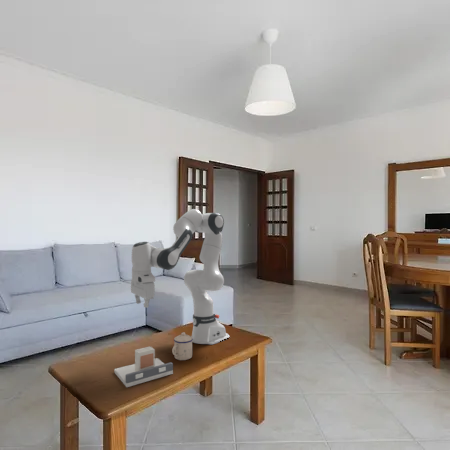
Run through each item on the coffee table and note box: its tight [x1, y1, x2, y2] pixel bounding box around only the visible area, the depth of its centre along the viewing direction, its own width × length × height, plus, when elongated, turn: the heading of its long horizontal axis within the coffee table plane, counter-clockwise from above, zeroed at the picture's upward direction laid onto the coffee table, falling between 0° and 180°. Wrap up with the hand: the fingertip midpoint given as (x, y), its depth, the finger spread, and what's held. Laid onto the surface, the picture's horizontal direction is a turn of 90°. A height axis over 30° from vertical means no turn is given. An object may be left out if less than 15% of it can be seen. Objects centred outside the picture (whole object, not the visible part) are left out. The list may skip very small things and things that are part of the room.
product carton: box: [134, 345, 156, 372], centre depth 135 cm, size 7×5×9 cm
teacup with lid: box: [171, 331, 193, 361], centre depth 153 cm, size 12×9×12 cm
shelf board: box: [114, 357, 174, 388], centre depth 136 cm, size 20×16×4 cm
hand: (142, 305), depth 150 cm, fingers open, 8 cm apart
